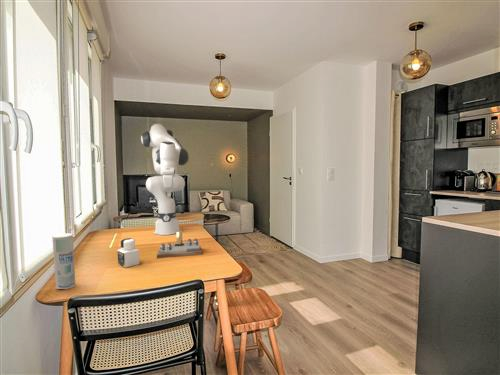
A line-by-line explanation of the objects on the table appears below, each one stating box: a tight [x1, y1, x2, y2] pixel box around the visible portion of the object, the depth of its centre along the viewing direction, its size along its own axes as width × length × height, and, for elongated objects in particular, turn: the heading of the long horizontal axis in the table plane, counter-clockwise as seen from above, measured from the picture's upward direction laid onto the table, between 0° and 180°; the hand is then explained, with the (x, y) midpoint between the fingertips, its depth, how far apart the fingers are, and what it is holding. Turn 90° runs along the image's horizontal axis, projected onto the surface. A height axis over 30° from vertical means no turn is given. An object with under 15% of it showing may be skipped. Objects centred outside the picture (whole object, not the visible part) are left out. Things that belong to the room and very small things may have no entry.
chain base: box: [156, 245, 203, 259], centre depth 153 cm, size 11×22×2 cm, turn 103°
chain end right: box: [172, 238, 200, 252], centre depth 154 cm, size 7×14×5 cm, turn 103°
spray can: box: [52, 232, 76, 290], centre depth 111 cm, size 6×6×20 cm
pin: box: [175, 231, 184, 246], centre depth 153 cm, size 3×3×10 cm
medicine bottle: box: [117, 237, 140, 269], centre depth 136 cm, size 7×7×12 cm
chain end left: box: [158, 242, 187, 254], centre depth 152 cm, size 7×14×4 cm, turn 103°
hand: (169, 195), depth 164 cm, fingers open, 8 cm apart
